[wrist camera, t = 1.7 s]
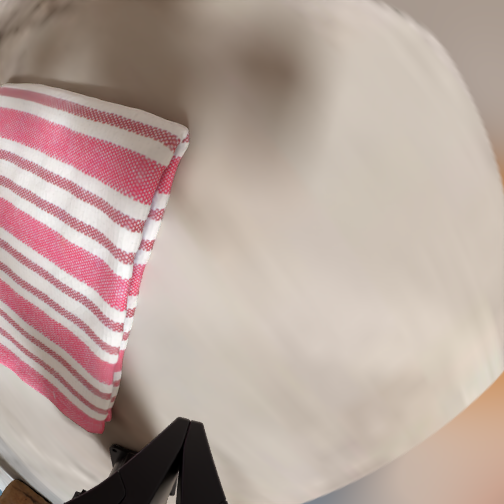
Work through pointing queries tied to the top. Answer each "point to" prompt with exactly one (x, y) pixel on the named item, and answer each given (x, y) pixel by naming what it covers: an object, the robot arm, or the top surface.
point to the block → (20, 494)
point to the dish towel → (77, 237)
